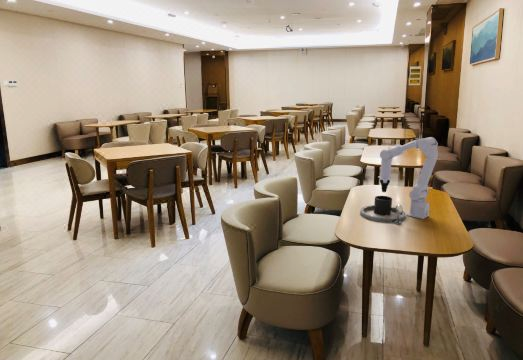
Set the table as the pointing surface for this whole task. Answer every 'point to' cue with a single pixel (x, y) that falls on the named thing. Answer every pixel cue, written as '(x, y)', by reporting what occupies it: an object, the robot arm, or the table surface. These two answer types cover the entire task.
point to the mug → (382, 205)
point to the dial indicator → (398, 214)
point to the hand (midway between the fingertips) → (383, 191)
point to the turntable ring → (380, 217)
